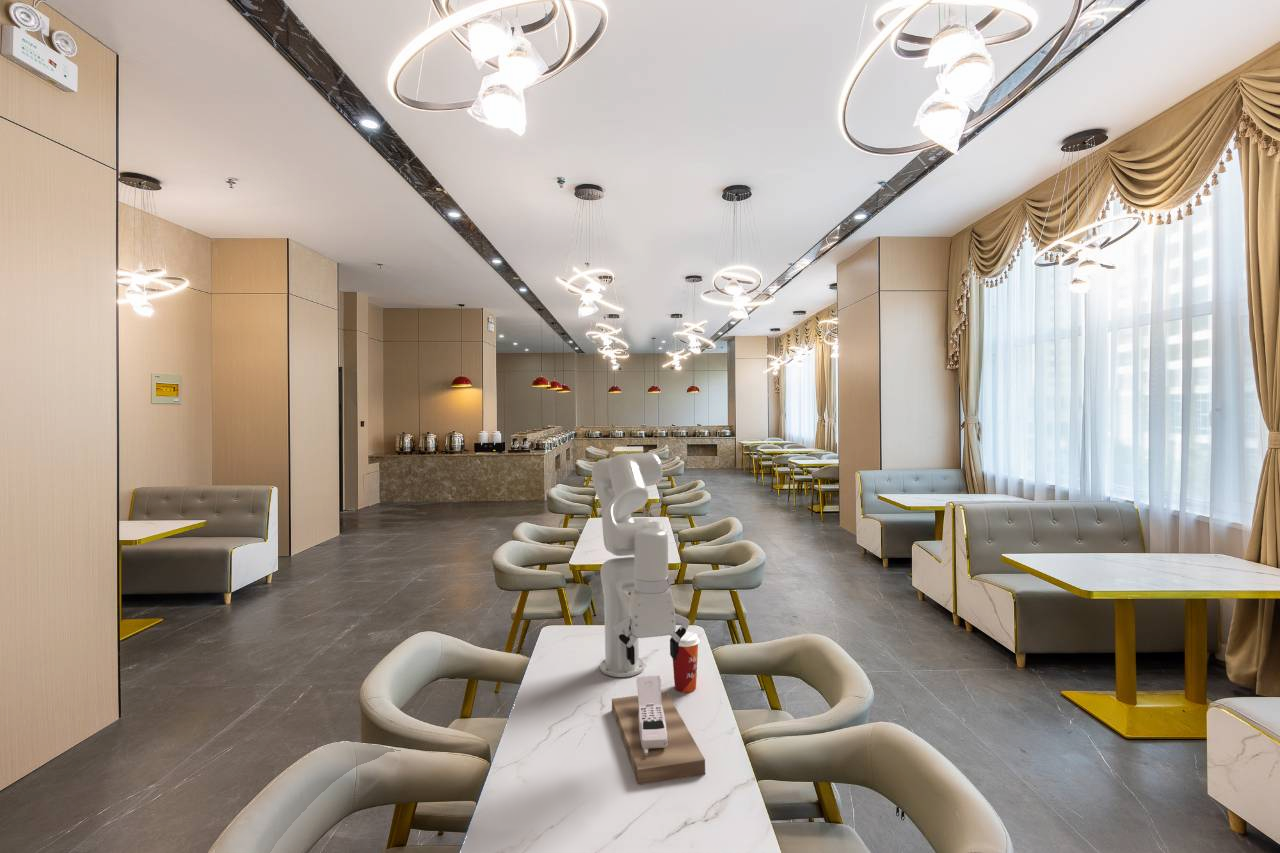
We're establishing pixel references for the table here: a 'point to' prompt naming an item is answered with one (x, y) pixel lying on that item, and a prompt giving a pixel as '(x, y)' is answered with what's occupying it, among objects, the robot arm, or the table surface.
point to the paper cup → (686, 663)
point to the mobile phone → (651, 713)
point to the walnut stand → (659, 762)
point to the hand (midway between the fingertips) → (652, 660)
